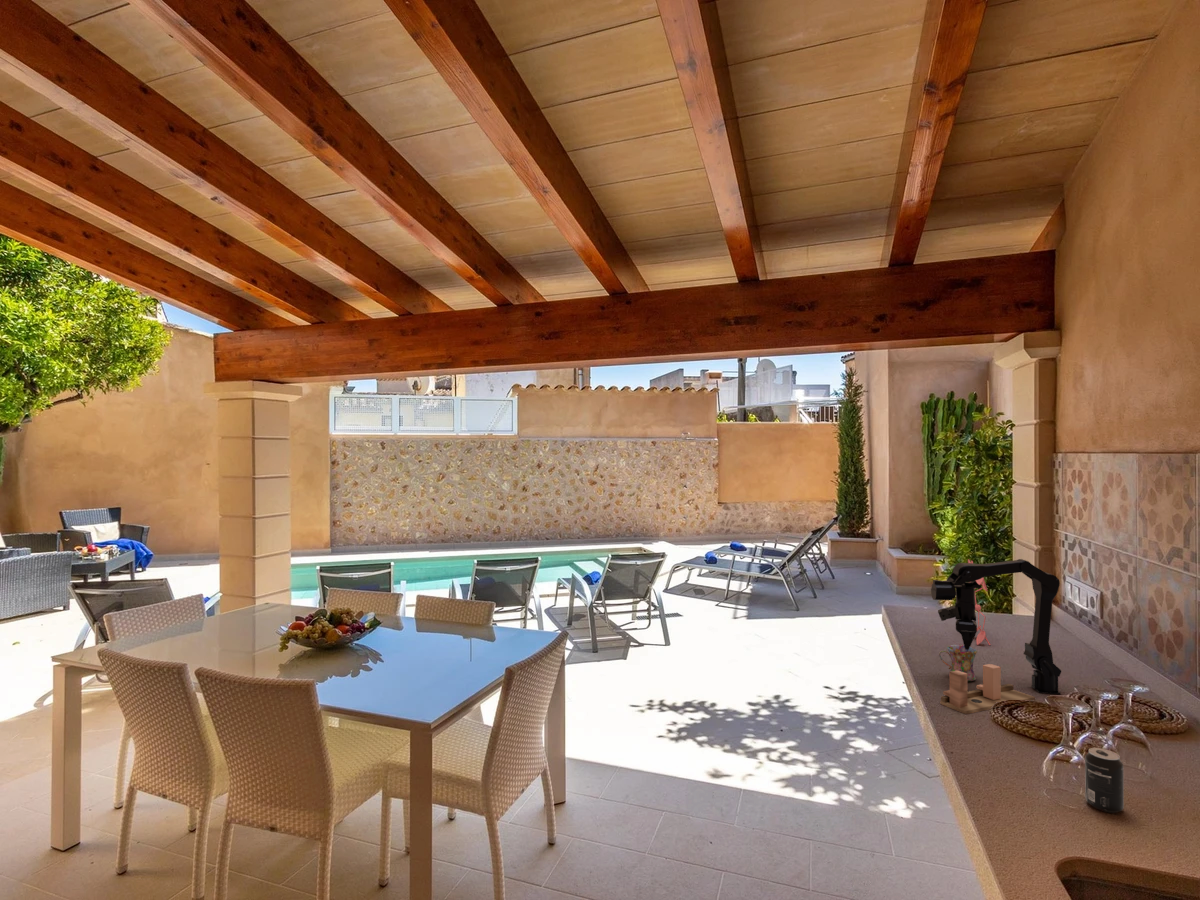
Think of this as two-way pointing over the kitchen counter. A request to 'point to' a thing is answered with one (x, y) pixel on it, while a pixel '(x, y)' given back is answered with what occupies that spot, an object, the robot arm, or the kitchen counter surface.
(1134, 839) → the kitchen counter surface
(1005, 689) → the trammel board
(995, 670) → the block
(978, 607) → the figurine
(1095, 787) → the beverage can
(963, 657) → the mug
